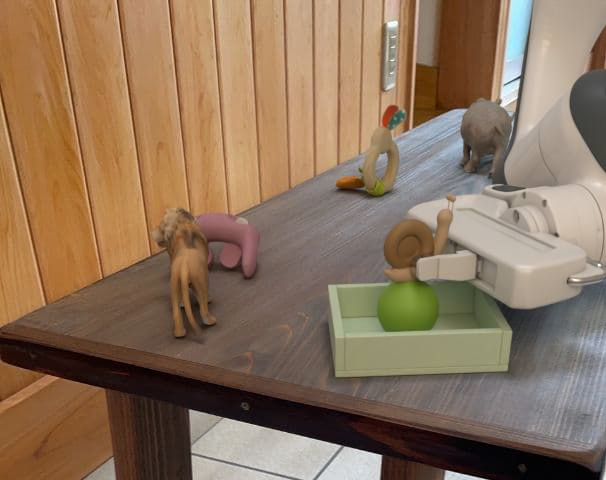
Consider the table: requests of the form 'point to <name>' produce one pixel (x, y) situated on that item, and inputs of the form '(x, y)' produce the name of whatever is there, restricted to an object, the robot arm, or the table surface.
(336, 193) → the table surface
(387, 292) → the snail figurine
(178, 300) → the lion figurine
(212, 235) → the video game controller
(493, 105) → the rhinoceros figurine
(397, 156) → the rattle
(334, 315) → the tray
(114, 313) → the table surface
